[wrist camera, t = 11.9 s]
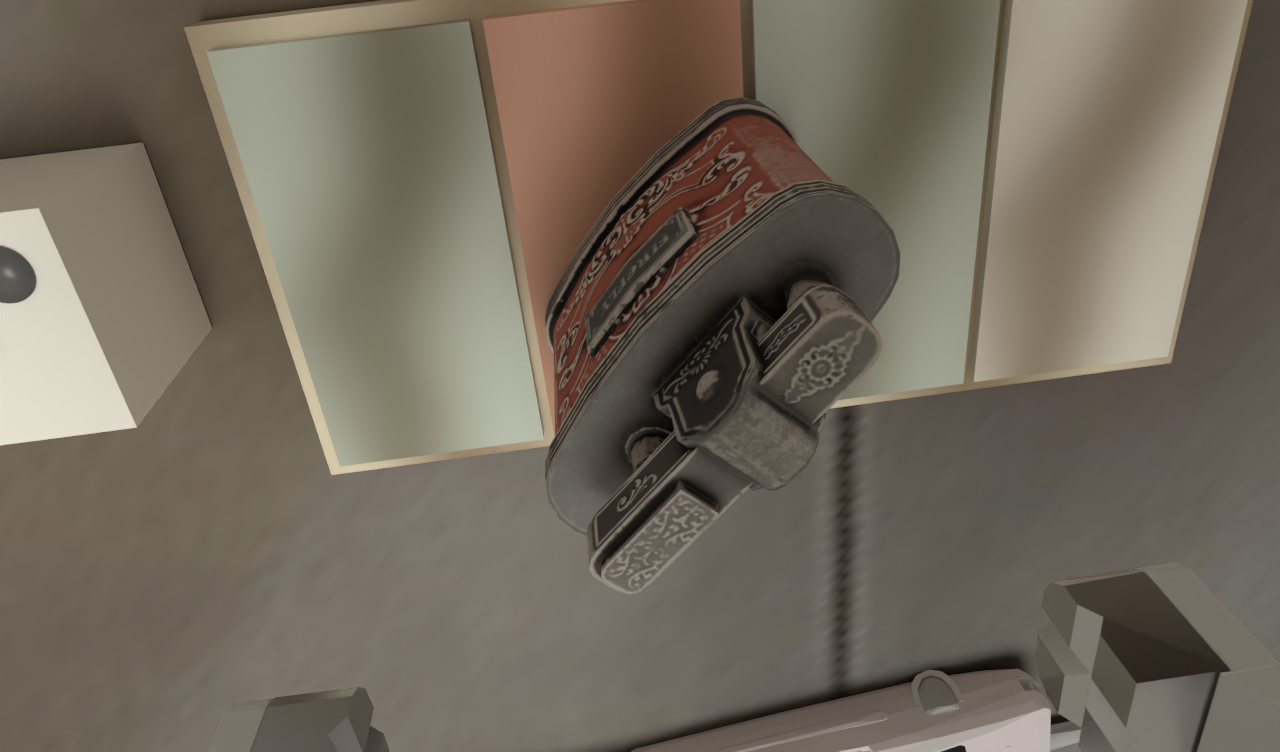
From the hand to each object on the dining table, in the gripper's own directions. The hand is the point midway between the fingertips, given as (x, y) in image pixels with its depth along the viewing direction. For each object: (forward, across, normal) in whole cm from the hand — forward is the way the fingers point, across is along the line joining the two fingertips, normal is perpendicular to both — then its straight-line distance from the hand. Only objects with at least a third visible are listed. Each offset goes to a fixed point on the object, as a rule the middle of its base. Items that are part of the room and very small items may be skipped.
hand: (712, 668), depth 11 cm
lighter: (+14, -1, 0) cm, 14 cm away
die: (+15, +14, -2) cm, 20 cm away
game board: (+15, -3, 0) cm, 15 cm away
